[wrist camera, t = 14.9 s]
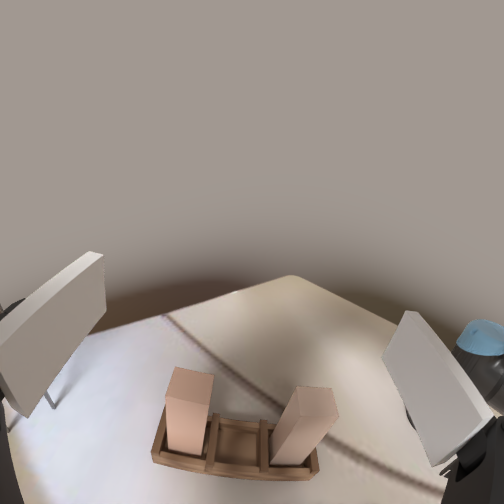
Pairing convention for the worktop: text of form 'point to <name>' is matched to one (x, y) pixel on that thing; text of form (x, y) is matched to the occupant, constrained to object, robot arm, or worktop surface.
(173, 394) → the clay bar
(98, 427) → the worktop surface
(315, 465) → the rack
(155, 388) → the worktop surface
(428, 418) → the robot arm
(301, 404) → the clay bar
